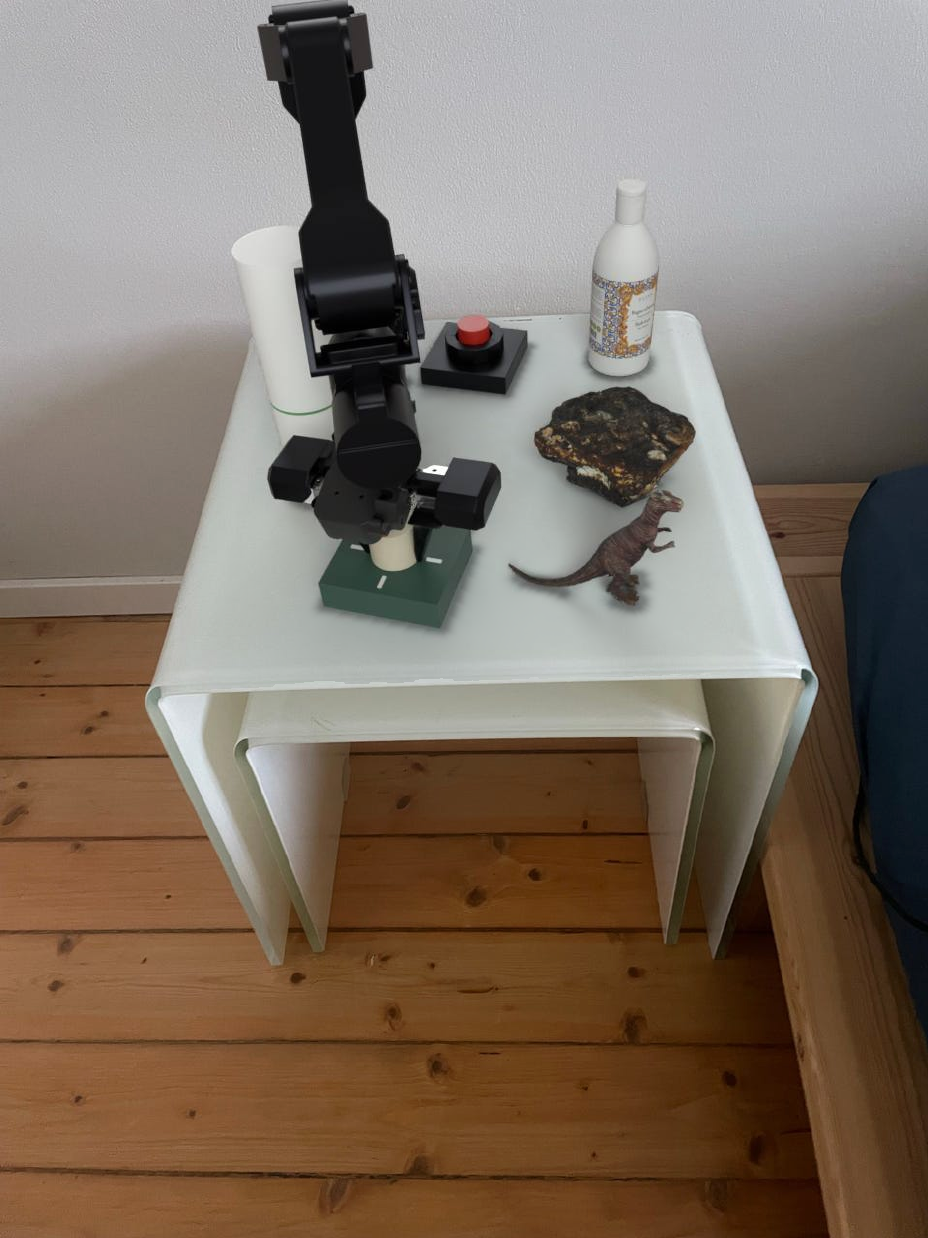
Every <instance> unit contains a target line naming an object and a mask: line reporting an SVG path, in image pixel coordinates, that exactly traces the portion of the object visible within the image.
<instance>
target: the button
mask: <svg viewBox="0 0 928 1238" xmlns="http://www.w3.org/2000/svg"><path fill="white" fill-rule="evenodd" d="M489 321H490V320H489V318H487V317H486V316H483V315H479V314H471V315H466V316H464V317H461V318H460V319H459V320H458V321H457V322H456V323H457V328H458V339H459V341H460V342H461V343H463V344H469V345H476V344H482V343H484V342H486V341H488V340H489V338H490V329H489Z"/></svg>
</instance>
